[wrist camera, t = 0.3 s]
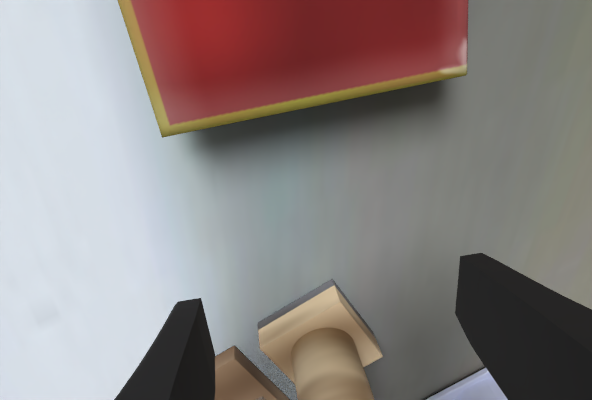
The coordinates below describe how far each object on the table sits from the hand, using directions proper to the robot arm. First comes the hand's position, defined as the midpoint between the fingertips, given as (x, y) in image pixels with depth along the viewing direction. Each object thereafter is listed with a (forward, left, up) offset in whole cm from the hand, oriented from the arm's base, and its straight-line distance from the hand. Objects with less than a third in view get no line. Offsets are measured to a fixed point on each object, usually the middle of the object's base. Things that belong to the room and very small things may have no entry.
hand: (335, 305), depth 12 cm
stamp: (-9, +4, -10) cm, 15 cm away
